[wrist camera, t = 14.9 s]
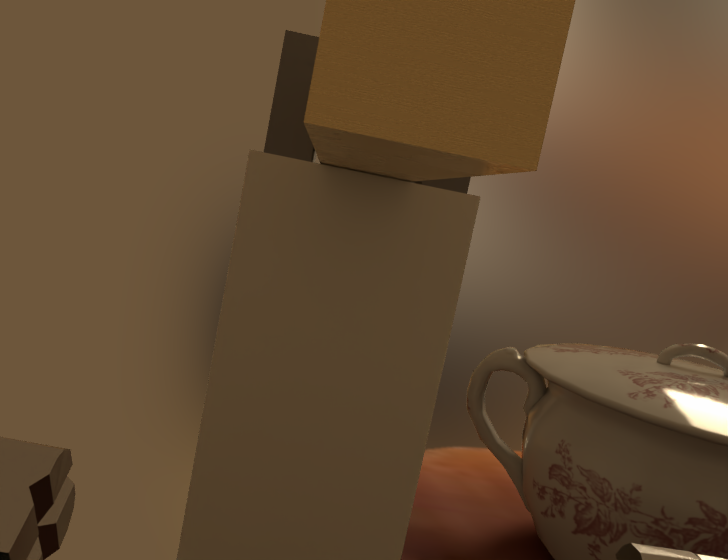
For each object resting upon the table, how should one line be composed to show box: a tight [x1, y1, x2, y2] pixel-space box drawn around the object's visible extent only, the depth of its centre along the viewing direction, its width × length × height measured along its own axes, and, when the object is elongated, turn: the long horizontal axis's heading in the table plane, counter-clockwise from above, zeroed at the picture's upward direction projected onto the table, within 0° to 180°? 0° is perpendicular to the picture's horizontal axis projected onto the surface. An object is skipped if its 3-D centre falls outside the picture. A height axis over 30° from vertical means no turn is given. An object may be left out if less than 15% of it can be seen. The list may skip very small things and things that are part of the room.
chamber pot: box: [467, 343, 728, 560], centre depth 58 cm, size 28×27×21 cm
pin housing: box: [177, 30, 480, 560], centre depth 37 cm, size 12×10×33 cm
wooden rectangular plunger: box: [304, 0, 575, 182], centre depth 22 cm, size 21×4×4 cm, turn 3°
